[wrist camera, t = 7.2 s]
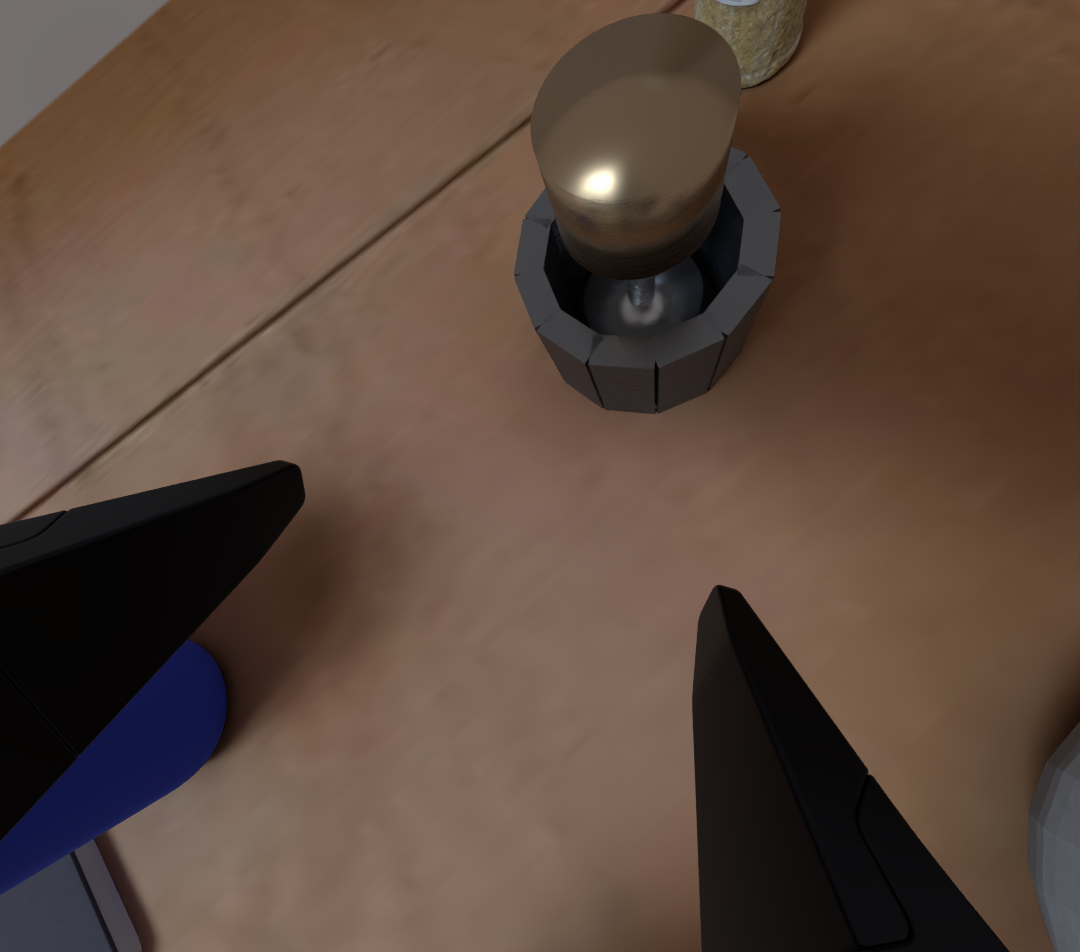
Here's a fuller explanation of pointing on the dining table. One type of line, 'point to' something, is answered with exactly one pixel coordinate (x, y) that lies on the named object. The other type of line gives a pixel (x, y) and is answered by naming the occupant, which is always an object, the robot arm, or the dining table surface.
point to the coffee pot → (1058, 844)
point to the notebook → (67, 909)
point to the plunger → (638, 163)
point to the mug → (124, 765)
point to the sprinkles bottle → (756, 32)
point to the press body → (680, 352)
